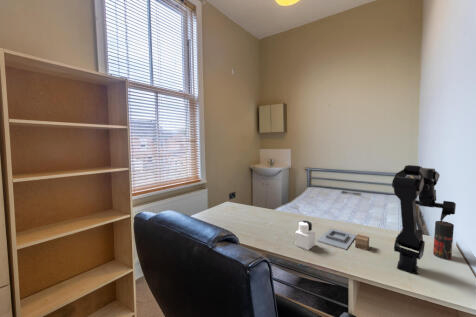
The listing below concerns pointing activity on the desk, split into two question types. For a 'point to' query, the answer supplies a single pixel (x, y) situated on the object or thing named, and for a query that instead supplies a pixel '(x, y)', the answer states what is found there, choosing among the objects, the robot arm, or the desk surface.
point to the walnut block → (362, 242)
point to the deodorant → (443, 240)
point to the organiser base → (337, 238)
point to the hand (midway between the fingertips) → (428, 218)
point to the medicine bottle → (305, 235)
